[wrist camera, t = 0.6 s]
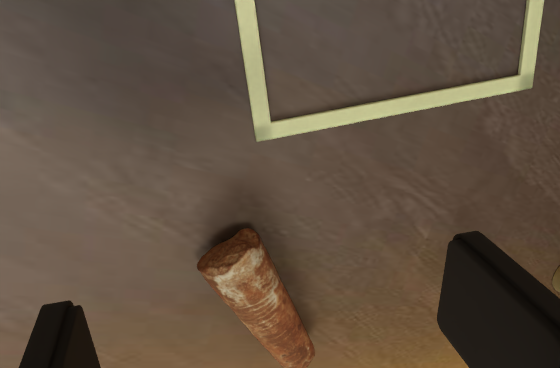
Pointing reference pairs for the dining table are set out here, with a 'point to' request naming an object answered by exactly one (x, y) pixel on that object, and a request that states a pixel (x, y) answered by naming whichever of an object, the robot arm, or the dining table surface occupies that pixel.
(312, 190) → the dining table surface
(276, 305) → the bread
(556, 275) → the tan game pawn
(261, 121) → the frame
